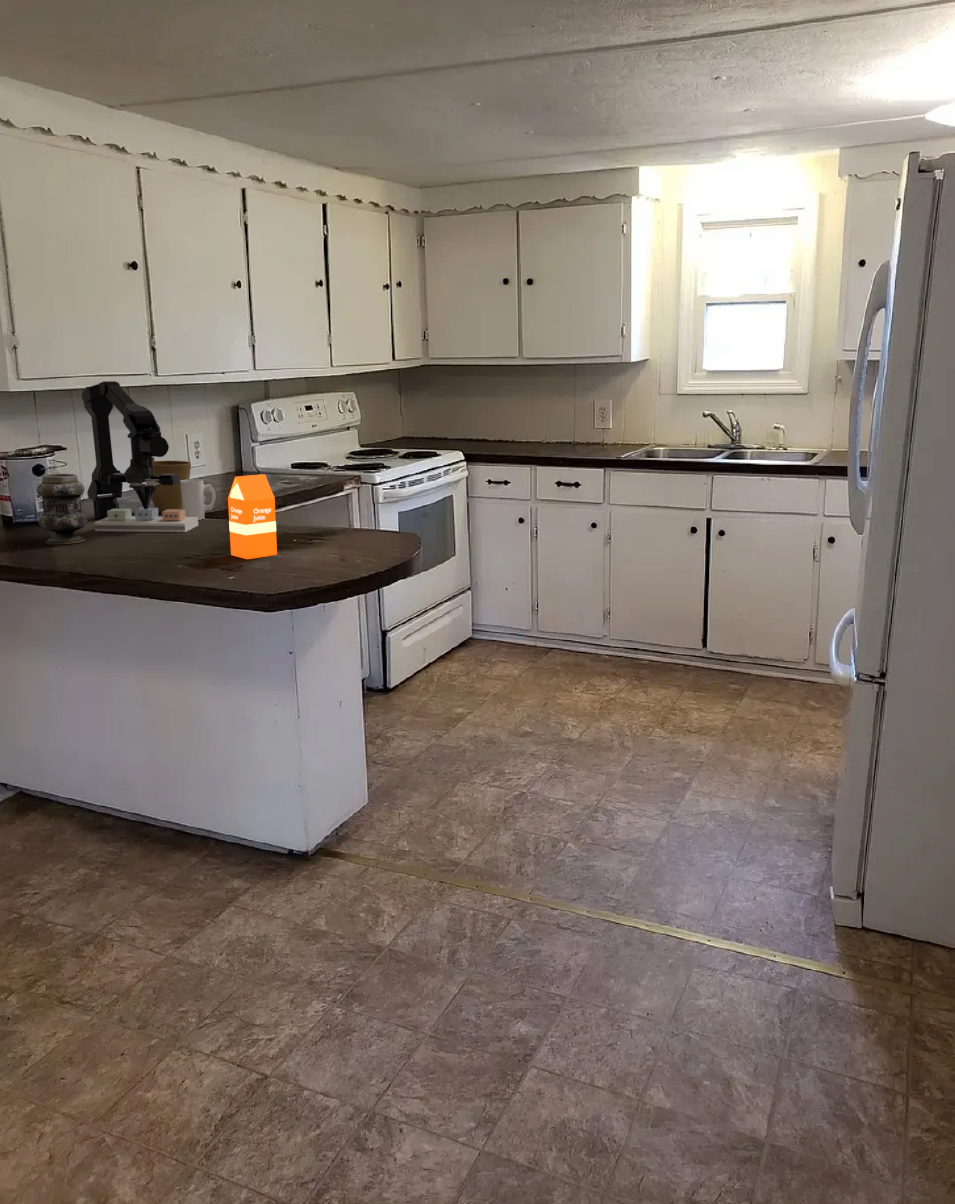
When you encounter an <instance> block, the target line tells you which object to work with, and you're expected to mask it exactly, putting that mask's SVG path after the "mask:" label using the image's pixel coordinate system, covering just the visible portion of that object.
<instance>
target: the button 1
mask: <svg viewBox="0 0 955 1204" xmlns="http://www.w3.org/2000/svg"><path fill="white" fill-rule="evenodd" d="M107 515H108V520H126V519H129V518H131V517H132V516H133V515H132V508H119V509H112V510H109V511H107Z"/></svg>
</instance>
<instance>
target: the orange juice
mask: <svg viewBox="0 0 955 1204" xmlns="http://www.w3.org/2000/svg"><path fill="white" fill-rule="evenodd" d="M275 499H276V497H275V495H274V493H273V491H272V488H271V486H270V483H269V481H268V479H267V475H266V474H265V473H264V474H252V475H250V474H249V475H241V476H235V477H234V479H233V482H232V485H231V488H230V492H229V494H228V497H227V501H228V503H227V504H228V505H227V507H228V519H229V520H228V525H229V529H228V530H229V540H230V541H229V543H230V555H231V556H234V557H238V558H242V559H245V560H250V559H251V560H252V559H259V558H263V557H264V558H265V557H271V556H276V555H277V556H278V551H277V550H278V548H277V545H278V544H277V521H276V502H275V501H276V500H275Z"/></svg>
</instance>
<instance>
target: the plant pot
mask: <svg viewBox="0 0 955 1204" xmlns="http://www.w3.org/2000/svg"><path fill="white" fill-rule="evenodd" d="M191 466H192V462H190V461H185V460H154V461H153V467H154V472H155V475H154V476H160V475H162V474H165V473H167V474H177V475H178V477H179V483H178V484H175V485H161V484H160V483H159V484H160V486H158V487H156V489H155V491H154V493H153V496H152V498H151V501H152V503H153V506H154V508H158V512H159V513H158V514H162V512H163V511H165V510H167V509H183V506H182V495H181V482H180V481H181V480H190V477H191V469H192V467H191Z"/></svg>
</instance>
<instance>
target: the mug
mask: <svg viewBox="0 0 955 1204" xmlns="http://www.w3.org/2000/svg"><path fill="white" fill-rule="evenodd" d="M180 482H181V495H182V506H183V508H182V509H185V516H186V517H198V520H201V519H204V520H205V519H206V518H205V516H206V515H205V513H206V511H212V509H213V507H214V504H215V503H216V492H215V490H214V488H213V486H212V483H207V484H204V480H203V479H195V478H193V479H192V478H191V479H190V478H189V480H181V481H180ZM205 490H209V491H210V493H211V501H210V503H209V504H205V493H204V492H205ZM201 521H202V520H201Z"/></svg>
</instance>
